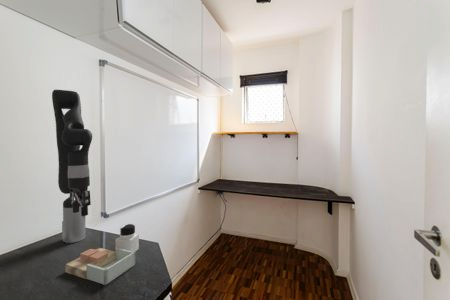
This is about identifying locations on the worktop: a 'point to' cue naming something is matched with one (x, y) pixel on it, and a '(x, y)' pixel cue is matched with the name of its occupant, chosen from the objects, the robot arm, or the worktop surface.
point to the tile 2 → (98, 257)
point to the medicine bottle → (128, 238)
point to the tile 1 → (87, 254)
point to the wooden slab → (79, 265)
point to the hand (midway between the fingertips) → (80, 214)
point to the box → (111, 267)
